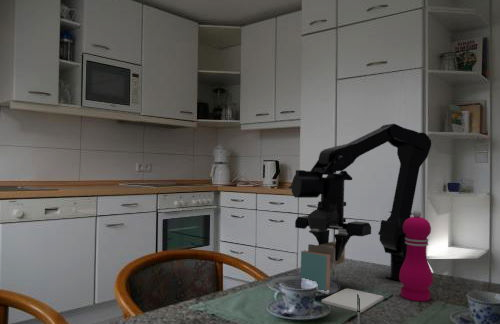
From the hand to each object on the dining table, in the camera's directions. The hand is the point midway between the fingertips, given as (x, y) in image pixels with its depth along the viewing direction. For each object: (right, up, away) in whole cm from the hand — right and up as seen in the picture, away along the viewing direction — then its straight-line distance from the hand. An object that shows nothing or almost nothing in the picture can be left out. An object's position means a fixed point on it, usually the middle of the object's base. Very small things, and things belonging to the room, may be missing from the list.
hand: (330, 259), depth 104 cm
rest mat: (+2, -6, -13) cm, 14 cm away
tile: (-5, -6, -6) cm, 10 cm away
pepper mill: (+18, -7, -9) cm, 21 cm away
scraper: (0, -1, 0) cm, 1 cm away
